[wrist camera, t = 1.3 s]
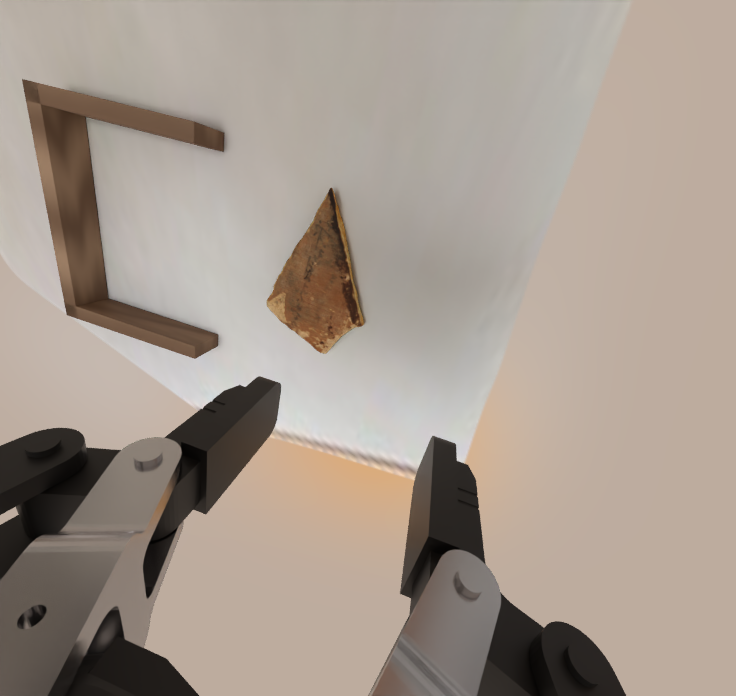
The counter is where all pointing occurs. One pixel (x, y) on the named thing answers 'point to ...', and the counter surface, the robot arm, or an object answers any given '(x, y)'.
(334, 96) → the counter surface
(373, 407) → the counter surface
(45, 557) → the robot arm
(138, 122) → the wooden c-shaped bracket
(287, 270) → the shard
